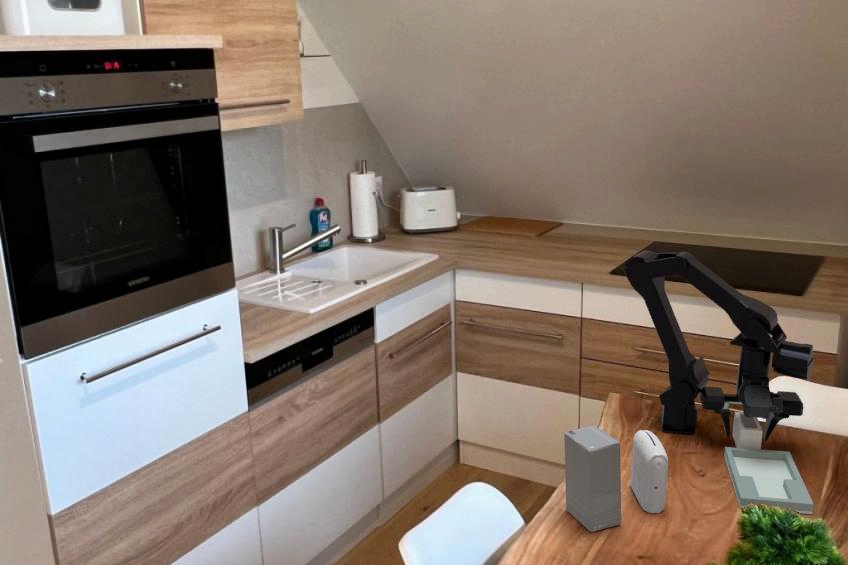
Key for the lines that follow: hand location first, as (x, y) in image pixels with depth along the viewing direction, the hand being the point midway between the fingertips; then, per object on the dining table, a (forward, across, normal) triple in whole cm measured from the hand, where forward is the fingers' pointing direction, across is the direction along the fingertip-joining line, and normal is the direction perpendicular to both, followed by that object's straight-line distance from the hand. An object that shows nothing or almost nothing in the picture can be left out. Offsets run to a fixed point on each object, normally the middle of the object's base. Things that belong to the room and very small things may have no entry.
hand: (746, 439), depth 167 cm
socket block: (+2, 0, 0) cm, 2 cm away
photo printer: (+2, -21, -24) cm, 32 cm away
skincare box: (+2, -31, -32) cm, 45 cm away
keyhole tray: (+1, +1, -15) cm, 15 cm away
